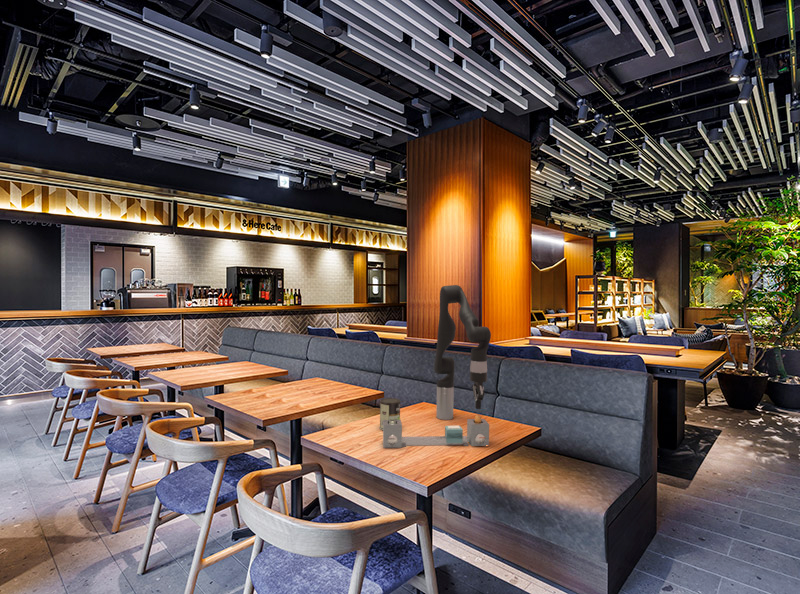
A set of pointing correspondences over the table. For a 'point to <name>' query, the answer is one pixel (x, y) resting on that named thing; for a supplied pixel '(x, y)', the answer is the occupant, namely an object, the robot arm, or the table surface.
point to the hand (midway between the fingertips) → (478, 408)
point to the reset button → (477, 419)
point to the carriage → (454, 434)
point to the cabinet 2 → (478, 432)
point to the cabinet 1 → (392, 434)
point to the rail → (430, 441)
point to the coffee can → (389, 410)
